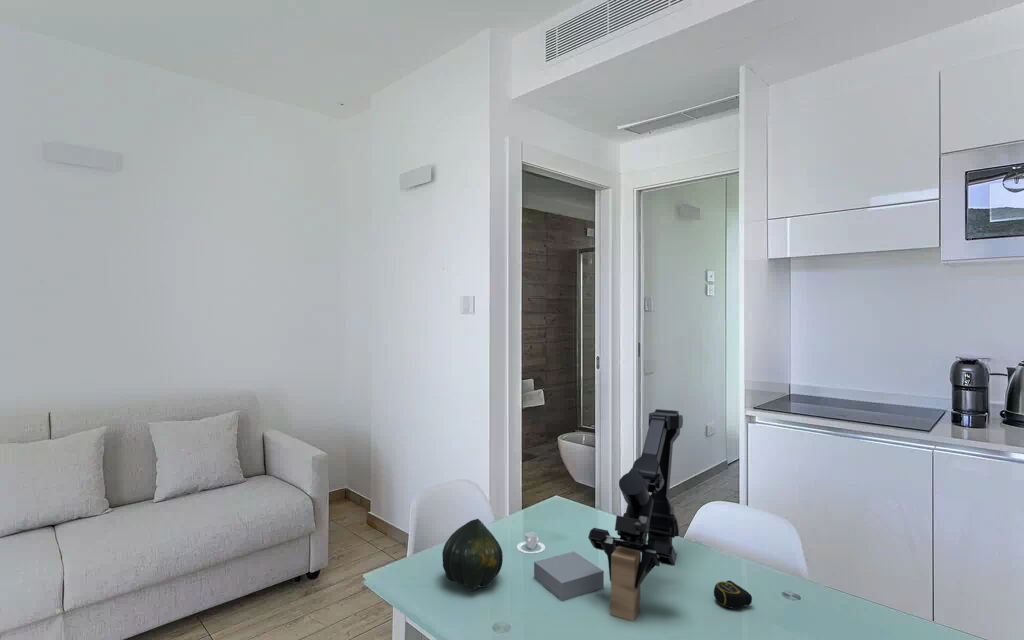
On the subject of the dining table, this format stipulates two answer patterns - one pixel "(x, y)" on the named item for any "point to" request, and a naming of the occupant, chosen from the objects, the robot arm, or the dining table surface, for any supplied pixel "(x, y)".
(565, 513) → the dining table surface
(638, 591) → the walnut pillar
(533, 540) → the teacup and saucer
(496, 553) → the squash
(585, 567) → the grey base block
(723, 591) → the tape measure
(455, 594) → the dining table surface
